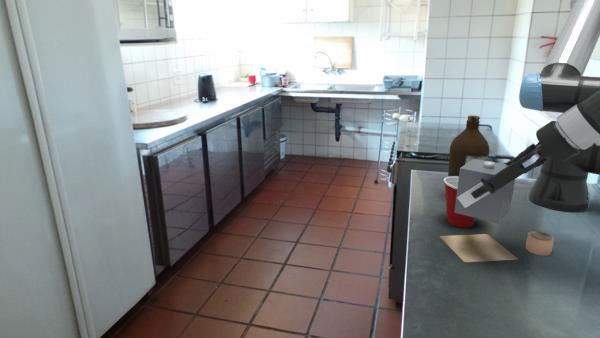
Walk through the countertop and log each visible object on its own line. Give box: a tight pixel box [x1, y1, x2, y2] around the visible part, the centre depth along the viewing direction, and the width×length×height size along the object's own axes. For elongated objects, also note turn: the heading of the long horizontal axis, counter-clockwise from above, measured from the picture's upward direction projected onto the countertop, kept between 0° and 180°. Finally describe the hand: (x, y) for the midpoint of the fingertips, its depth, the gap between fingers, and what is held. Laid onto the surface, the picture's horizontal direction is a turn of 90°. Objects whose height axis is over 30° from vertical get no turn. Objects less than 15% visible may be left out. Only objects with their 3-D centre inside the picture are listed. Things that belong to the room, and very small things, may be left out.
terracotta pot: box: [525, 230, 555, 257], centre depth 90 cm, size 5×5×5 cm
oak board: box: [439, 233, 519, 263], centre depth 92 cm, size 12×12×1 cm
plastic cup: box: [443, 176, 476, 228], centre depth 103 cm, size 11×11×12 cm
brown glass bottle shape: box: [447, 114, 490, 177], centre depth 120 cm, size 11×11×25 cm
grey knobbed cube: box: [454, 159, 516, 224], centre depth 87 cm, size 9×9×11 cm
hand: (468, 195), depth 90 cm, fingers closed on grey knobbed cube, 9 cm apart
